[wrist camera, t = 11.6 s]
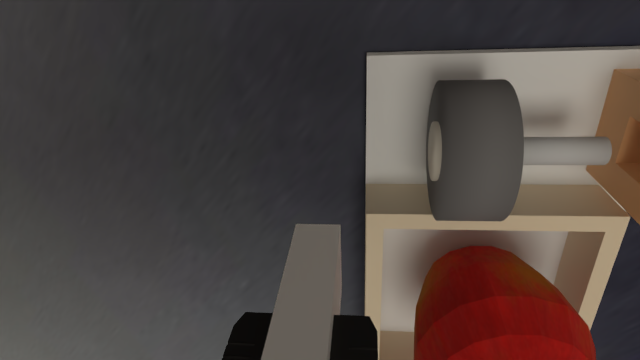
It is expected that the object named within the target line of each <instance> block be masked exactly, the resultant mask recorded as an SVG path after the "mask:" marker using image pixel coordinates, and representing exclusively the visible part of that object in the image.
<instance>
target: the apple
mask: <svg viewBox="0 0 640 360" xmlns="http://www.w3.org/2000/svg"><path fill="white" fill-rule="evenodd" d="M414 360H596V351H595V346H594V343H593V340H592V337H591V333H590V330H589V327H588V325H587V324H586V323H585V321H584V320H583V319H582V318H581V316H580V315H579V314H578V313H577V311H576V310H575V309H574V308H573V307H572V305H571V304H570V303H569V302H568V300H567V299H566V298H565V297H564V296H563V294H562V293H561V292H560V291H559V290H558V289H557V288H556V287H555V286H554V285H553V284H552V283H551V282H549V281H548V280H547V279H546V278H545V277H544V276H543V275H542V274H540V273H539V272H538V271H536V270H535V269H534V268H532V267H531V266H530V265H528V264H527V263H525V262H524V261H523V260H521V259H520V258H519V257H517V256H516V255H515V254H513V253H512V252H510V251H506V250H503V249H500V248H496V247H493V246H468V247H464V248H460V249H456V250H453V251H449V252H448V253H447V254H445V255H444V256H442V257H441V258H439V259H438V260H436V261H435V262H434V263H433V264H432V266H431V268H430V270H429V271H428V273H427V275H426V277H425V280H424V283H423V286H422V289H421V292H420V295H419V298H418V302H417V305H416V312H415V324H414Z"/></svg>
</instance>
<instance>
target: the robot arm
mask: <svg viewBox="0 0 640 360" xmlns="http://www.w3.org/2000/svg"><path fill="white" fill-rule="evenodd" d="M341 291H342V274H341V232H340V225H327V224H296V226H295V230H294V234H293V238H292V241H291V245H290V249H289V253H288V257H287V261H286V265H285V269H284V272H283V276H282V280H281V284H280V288H279V292H278V296H277V299H276V303H275V307H274V311H273V313H254V312H245V313H244V315H243V316H242V317H241V318H240V319H239V320H238V321H237V323H236V324H235V325H234V326H233V329H232V332H231V335H230V338H229V340H228V345H227V346H226V349H225V352H224V355H223V358H222V360H378V336H377V330H376V328H375V326H374V324H373V322H372V320H371V318H370V316H351V315H340V304H341Z"/></svg>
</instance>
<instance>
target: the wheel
mask: <svg viewBox="0 0 640 360" xmlns="http://www.w3.org/2000/svg"><path fill="white" fill-rule="evenodd" d="M611 155H612V145H611V142H610V140H609V138H607V137H605V136H601V137H524V131H523V120H522V113H521V108H520V104H519V100H518V97H517V94H516V92H515V89H514V88H513V86H512V85H511V83H510V82H509V81H507V80H505V79H487V80H439V81H437V82H436V84H435V86H434V89H433V92H432V96H431V101H430V107H429V115H428V124H427V140H426V173H427V188H428V197H429V203H430V208H431V212H432V215H433V217H434V219H435V220H436V221H503V220H505V219H506V218H507V217H508V216H509V215H510V213H511V211H512V209H513V207H514V205H515V202H516V199H517V196H518V192H519V188H520V183H521V177H522V170H523V165H606V164H607V163H608V162H609V161H610V158H611Z"/></svg>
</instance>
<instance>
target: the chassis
mask: <svg viewBox="0 0 640 360" xmlns="http://www.w3.org/2000/svg"><path fill="white" fill-rule="evenodd" d="M487 79H505V80H507V81H509V82H510V83H511V85H512V86H513V88H514V89H515V92H516V94H517V97H518V100H519V104H520V108H521V113H522V120H523V131H524V137H601V136H605V137H607V138H609V140H610V142H611V145H612V155H611V158H610V161H609V162H608V163H607V164H606V165H523V170H522V177H521V183H520V188H519V192H518V196H517V199H516V202H515V205H514V207H513V209H512V211H511V213H510V215H509V216H508V217H507V218H506V219H505V220H503V221H436V220H435V219H434V217H433V215H432V212H431V208H430V203H429V197H428V188H427V173H426V140H427V124H428V115H429V107H430V101H431V96H432V92H433V89H434V86H435V84H436V82H437V81H439V80H487ZM625 210H626V211H627V212H628V213H629V214H630V215H631V216H632V217H633V218H634V219H635V220H636V222H637V223H638V224H639V225H640V46H613V47H572V48H530V49H489V50H448V51H407V52H367V82H366V195H365V309H364V316H370V318H371V320H372V322H373V324H374V326H375V328H376V330H377V336H378V360H414V324H415V312H416V305H417V302H418V298H419V295H420V292H421V289H422V286H423V283H424V280H425V277H426V275H427V273H428V271H429V270H430V268H431V266H432V264H433V263H434V262H435V261H436V260H438V259H439V258H441V257H442V256H444V255H445V254H447V253H448V252H449V251H453V250H456V249H460V248H464V247H468V246H493V247H496V248H500V249H503V250H506V251H510V252H512V253H513V254H515V255H516V256H517V257H519V258H520V259H521V260H523V261H524V262H525V263H527V264H528V265H530V266H531V267H532V268H534V269H535V270H536V271H538V272H539V273H540V274H542V275H543V276H544V277H545V278H546V279H547V280H548V281H549V282H551V283H552V284H553V285H554V286H555V287H556V288H557V289H558V290H559V291H560V292H561V293H562V294H563V296H564V297H565V298H566V299H567V300H568V302H569V303H570V304H571V305H572V307H573V308H574V309H575V310H576V311H577V313H578V314H579V315H580V316H581V318H582V319H583V320H584V321H585V323H586V324H587V325H588V327H589V330H590V329H591V326H592V323H593V321H594V318H595V315H596V312H597V309H598V307H599V304H600V301H601V298H602V295H603V292H604V290H605V287H606V284H607V281H608V278H609V276H610V273H611V270H612V267H613V264H614V262H615V259H616V256H617V253H618V250H619V248H620V245H621V242H622V239H623V236H624V233H625V231H626V228H627V225H628V222H629V219H630V216H629V215H628V214H627V213H626V212H625Z"/></svg>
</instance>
